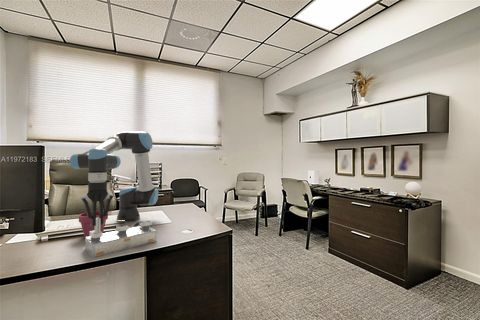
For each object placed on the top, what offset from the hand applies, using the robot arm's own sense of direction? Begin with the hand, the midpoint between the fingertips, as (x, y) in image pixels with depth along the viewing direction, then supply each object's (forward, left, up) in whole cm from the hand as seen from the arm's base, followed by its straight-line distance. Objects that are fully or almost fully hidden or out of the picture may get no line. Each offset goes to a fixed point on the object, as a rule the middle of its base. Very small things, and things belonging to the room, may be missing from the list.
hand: (97, 232), depth 110 cm
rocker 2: (-4, +12, -2) cm, 13 cm away
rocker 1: (-4, 0, -2) cm, 5 cm away
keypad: (-24, +28, -11) cm, 39 cm away
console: (-4, +12, -10) cm, 17 cm away
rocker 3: (-4, +24, -2) cm, 25 cm away
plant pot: (-31, +5, -11) cm, 33 cm away
